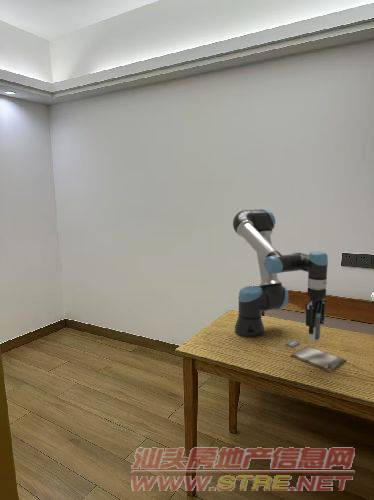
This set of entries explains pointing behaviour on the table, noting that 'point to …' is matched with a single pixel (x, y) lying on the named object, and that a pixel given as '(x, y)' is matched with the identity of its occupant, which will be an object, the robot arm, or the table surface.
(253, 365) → the table surface
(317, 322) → the marker
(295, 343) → the word card
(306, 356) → the clipboard
